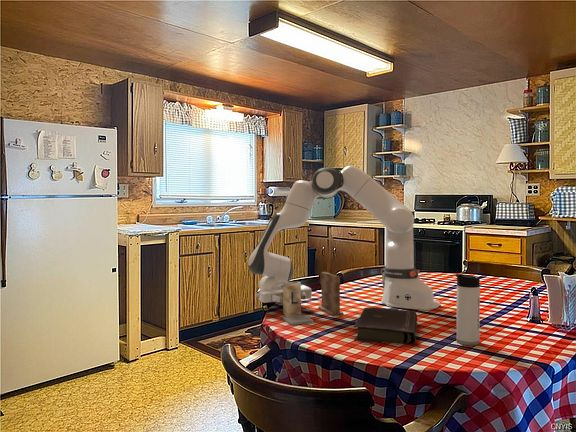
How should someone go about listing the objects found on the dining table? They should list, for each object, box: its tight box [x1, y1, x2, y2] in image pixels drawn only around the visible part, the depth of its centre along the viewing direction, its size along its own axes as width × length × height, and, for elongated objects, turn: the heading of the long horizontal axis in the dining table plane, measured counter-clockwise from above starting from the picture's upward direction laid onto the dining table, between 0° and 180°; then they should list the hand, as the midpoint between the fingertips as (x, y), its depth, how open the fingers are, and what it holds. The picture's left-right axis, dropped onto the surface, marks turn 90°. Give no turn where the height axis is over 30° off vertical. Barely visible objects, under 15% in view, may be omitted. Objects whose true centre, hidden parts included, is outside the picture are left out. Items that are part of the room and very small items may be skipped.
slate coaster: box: [282, 314, 314, 326], centre depth 158 cm, size 8×8×1 cm
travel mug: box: [455, 273, 481, 346], centre depth 133 cm, size 6×7×20 cm
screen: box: [317, 271, 344, 317], centre depth 171 cm, size 12×4×14 cm, turn 21°
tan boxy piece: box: [282, 283, 302, 317], centre depth 167 cm, size 5×5×11 cm
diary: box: [353, 306, 418, 346], centre depth 146 cm, size 19×25×5 cm
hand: (292, 298), depth 167 cm, fingers open, 8 cm apart
